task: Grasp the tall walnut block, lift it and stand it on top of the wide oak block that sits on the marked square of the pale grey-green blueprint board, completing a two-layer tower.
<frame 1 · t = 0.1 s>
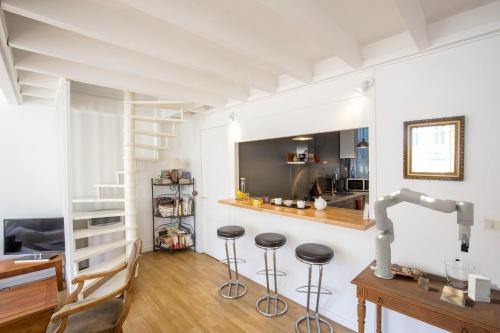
hand: (464, 249, 142), 31 cm above the table, fingers open, 9 cm apart
blueprint board: (452, 301, 142), on the table
walnut block: (423, 289, 155), on the table
coffee maker: (457, 286, 160), on the table
oak block: (452, 299, 142), point 1 cm above the table, touching blueprint board
skincare box: (478, 301, 142), on the table
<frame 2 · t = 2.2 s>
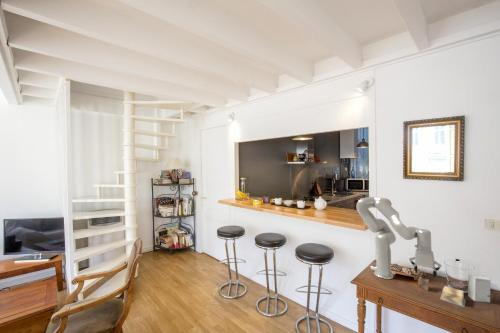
hand: (425, 274, 154), 10 cm above the table, fingers open, 9 cm apart
nothing on the table moved.
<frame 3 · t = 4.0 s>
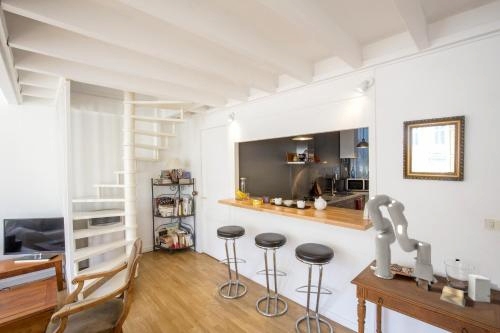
hand: (423, 288, 155), 1 cm above the table, fingers closed on walnut block, 5 cm apart
walnut block: (423, 289, 155), on the table, touching gripper
everything else where it was.
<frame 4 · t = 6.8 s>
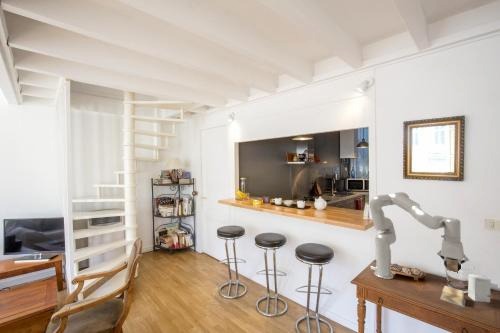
hand: (452, 268, 142), 20 cm above the table, fingers closed on walnut block, 5 cm apart
walnut block: (452, 269, 142), point 19 cm above the table, touching gripper
everything else where it was.
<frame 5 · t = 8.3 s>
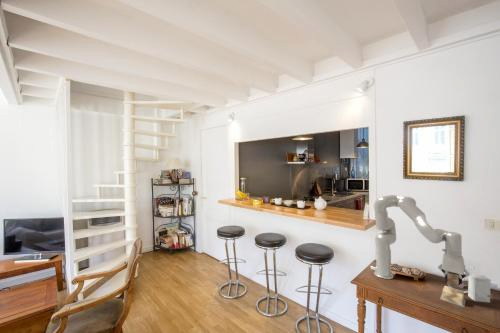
hand: (453, 282, 141), 11 cm above the table, fingers closed on walnut block, 5 cm apart
walnut block: (453, 284, 141), point 10 cm above the table, touching gripper
everything else where it was.
when the fingers open (8 cm above the table, at t = 9.7 s): walnut block drops 1 cm, resting on oak block.
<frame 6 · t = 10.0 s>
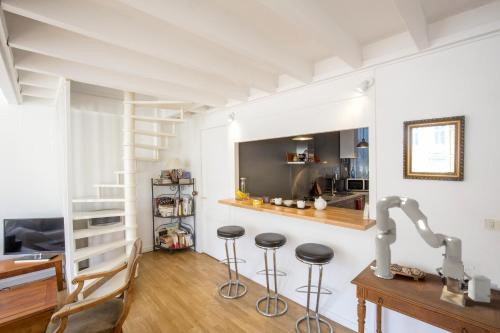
hand: (452, 286, 142), 9 cm above the table, fingers open, 8 cm apart
walnut block: (452, 291, 142), point 6 cm above the table, touching oak block
oak block: (452, 299, 142), point 1 cm above the table, touching blueprint board, walnut block
everything else where it was.
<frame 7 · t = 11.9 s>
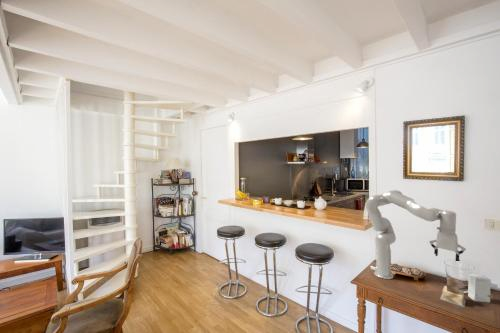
hand: (446, 257, 145), 25 cm above the table, fingers open, 9 cm apart
nothing on the table moved.
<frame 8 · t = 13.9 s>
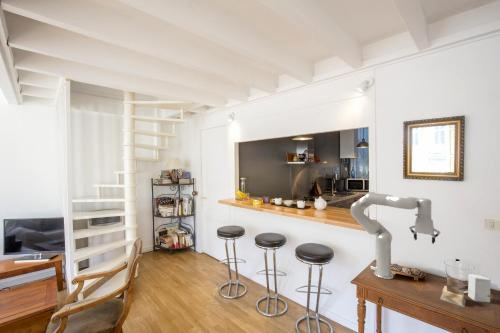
hand: (424, 241, 160), 30 cm above the table, fingers open, 9 cm apart
nothing on the table moved.
at the end: walnut block inside the target area on the oak block (0.1 cm from its centre), point 5.0 cm above the oak block's base; walnut block tilted 0°; the gripper is holding nothing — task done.
